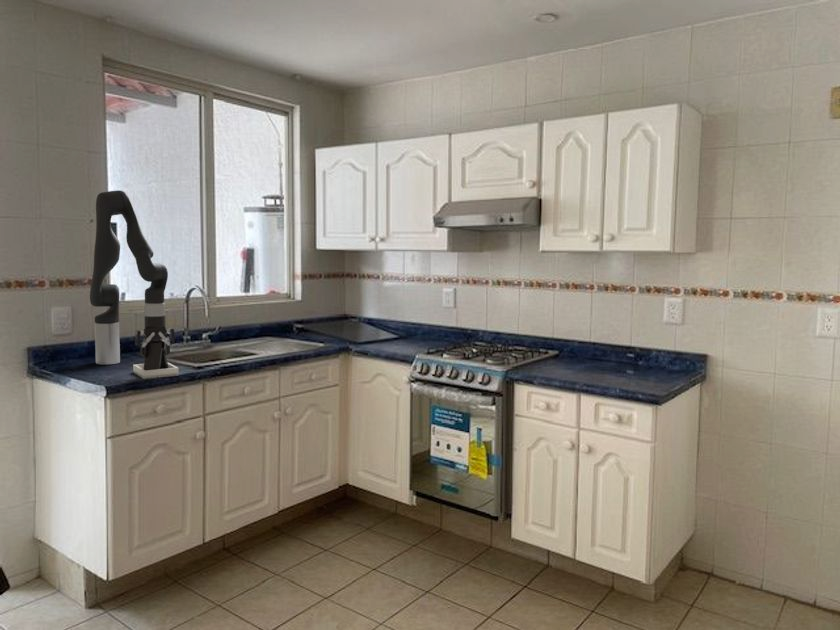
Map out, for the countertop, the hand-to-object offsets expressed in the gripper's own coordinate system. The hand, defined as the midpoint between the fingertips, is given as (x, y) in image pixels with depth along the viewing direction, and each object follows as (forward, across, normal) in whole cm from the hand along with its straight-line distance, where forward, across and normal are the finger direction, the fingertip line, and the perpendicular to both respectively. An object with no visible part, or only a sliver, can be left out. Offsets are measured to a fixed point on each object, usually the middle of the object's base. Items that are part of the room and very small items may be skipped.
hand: (155, 355), depth 251 cm
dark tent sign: (+6, 0, 0) cm, 6 cm away
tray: (+7, 0, 0) cm, 7 cm away
